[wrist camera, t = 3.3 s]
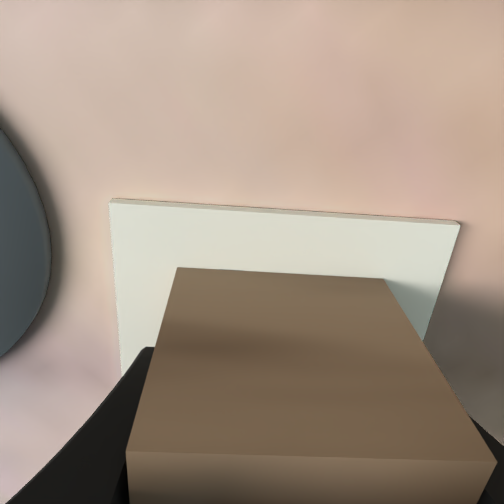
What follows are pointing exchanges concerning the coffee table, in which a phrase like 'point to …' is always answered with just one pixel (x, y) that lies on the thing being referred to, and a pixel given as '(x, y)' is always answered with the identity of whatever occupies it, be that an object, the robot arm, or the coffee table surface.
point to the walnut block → (297, 399)
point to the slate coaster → (20, 247)
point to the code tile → (266, 255)
